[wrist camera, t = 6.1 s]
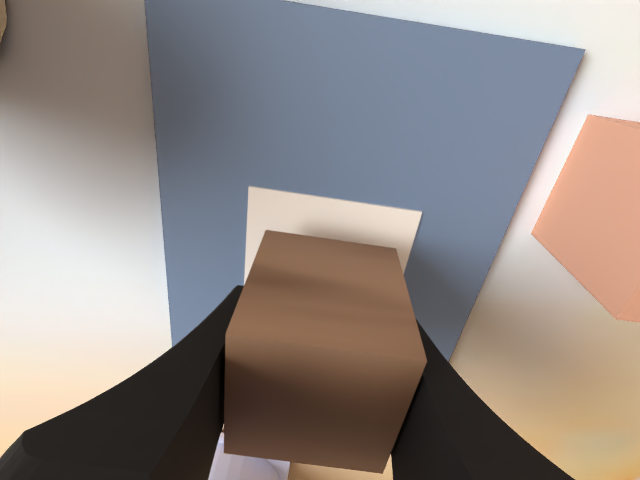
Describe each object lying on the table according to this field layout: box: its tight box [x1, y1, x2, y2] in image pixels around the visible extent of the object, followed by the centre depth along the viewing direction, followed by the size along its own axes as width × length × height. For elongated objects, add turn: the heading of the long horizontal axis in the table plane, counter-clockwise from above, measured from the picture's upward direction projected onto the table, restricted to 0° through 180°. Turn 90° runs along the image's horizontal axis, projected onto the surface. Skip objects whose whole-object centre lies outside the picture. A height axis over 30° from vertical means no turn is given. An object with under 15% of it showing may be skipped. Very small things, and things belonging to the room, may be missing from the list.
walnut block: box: [224, 230, 427, 474], centre depth 11 cm, size 4×4×5 cm
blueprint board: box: [145, 0, 586, 362], centre depth 15 cm, size 18×13×1 cm
